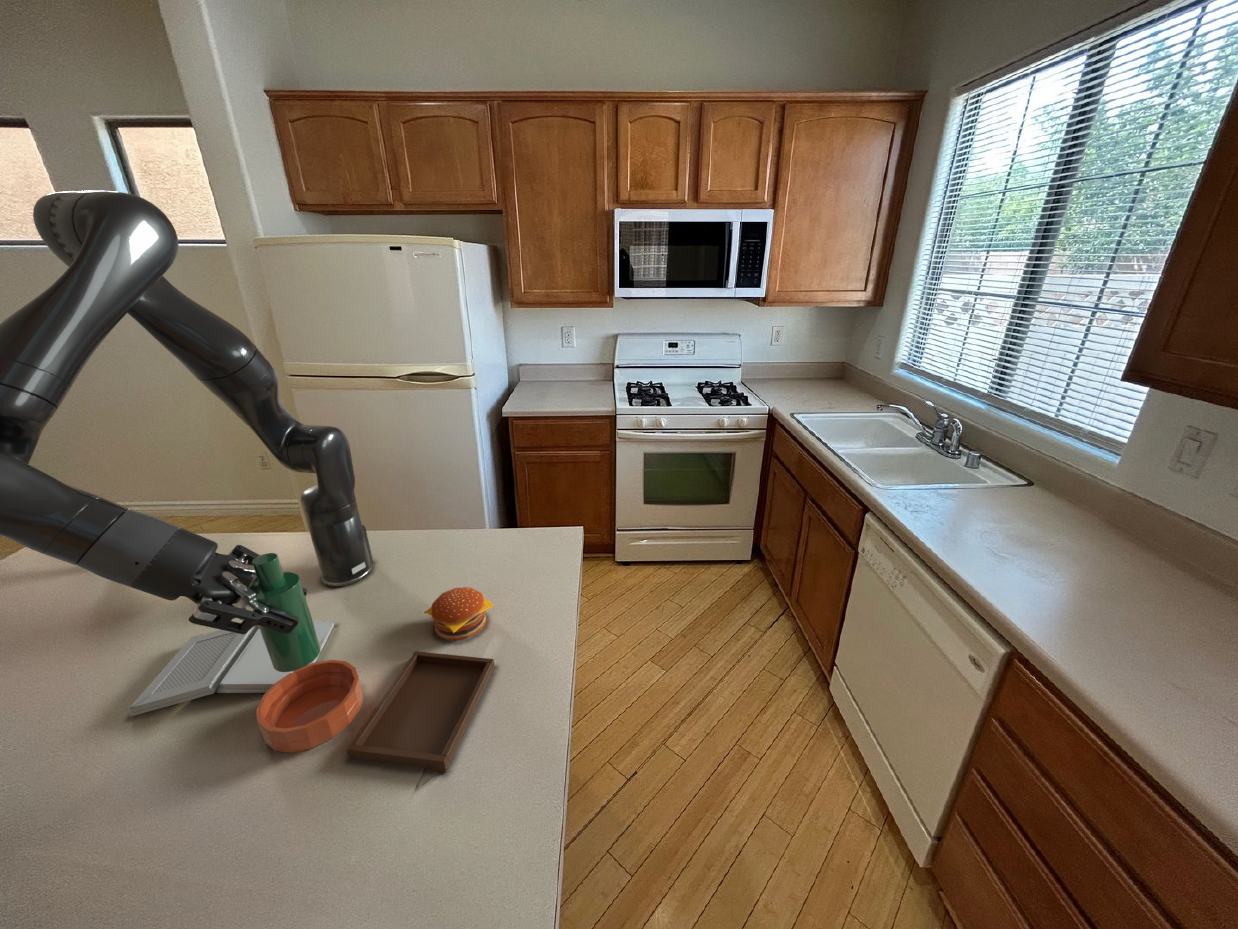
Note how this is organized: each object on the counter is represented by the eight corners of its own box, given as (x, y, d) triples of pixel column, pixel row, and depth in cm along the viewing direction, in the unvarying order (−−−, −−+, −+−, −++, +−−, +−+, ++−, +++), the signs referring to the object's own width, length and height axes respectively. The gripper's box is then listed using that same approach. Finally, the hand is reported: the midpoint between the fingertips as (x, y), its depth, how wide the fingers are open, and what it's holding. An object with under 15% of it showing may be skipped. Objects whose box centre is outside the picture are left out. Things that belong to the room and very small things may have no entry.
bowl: (308, 678, 76) (301, 656, 74) (380, 685, 75) (375, 664, 73) (242, 749, 65) (232, 726, 63) (326, 760, 63) (318, 737, 62)
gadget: (336, 626, 87) (332, 610, 86) (304, 692, 73) (298, 674, 72) (193, 644, 83) (186, 627, 81) (131, 718, 69) (121, 699, 68)
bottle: (293, 639, 68) (262, 545, 62) (329, 643, 68) (301, 548, 61) (262, 670, 63) (224, 570, 57) (300, 674, 63) (267, 573, 56)
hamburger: (464, 602, 93) (460, 574, 91) (497, 621, 88) (494, 592, 86) (422, 629, 86) (417, 600, 84) (456, 652, 81) (451, 621, 79)
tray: (416, 660, 79) (414, 651, 79) (494, 668, 78) (493, 658, 77) (349, 760, 63) (346, 749, 62) (446, 772, 62) (444, 761, 61)
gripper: (144, 563, 48) (308, 625, 57) (196, 503, 60) (325, 561, 69) (97, 618, 48) (268, 671, 57) (158, 547, 60) (292, 599, 69)
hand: (298, 611), depth 63 cm, fingers closed on bottle, 5 cm apart
